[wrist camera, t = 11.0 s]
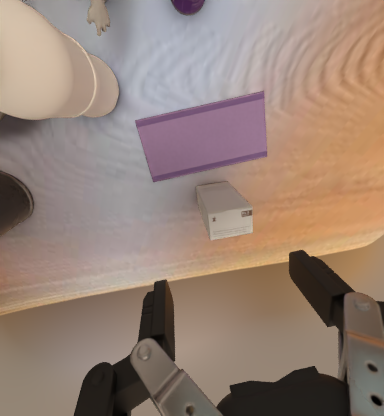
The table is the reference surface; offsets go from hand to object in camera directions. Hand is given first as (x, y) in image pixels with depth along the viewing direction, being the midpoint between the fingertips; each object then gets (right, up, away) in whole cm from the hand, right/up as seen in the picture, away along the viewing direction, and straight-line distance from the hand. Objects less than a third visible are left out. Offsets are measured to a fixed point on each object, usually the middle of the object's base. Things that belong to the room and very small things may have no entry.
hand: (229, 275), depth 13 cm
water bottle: (-16, +21, +16) cm, 31 cm away
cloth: (0, +16, +20) cm, 26 cm away
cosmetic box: (+1, +7, +25) cm, 26 cm away
